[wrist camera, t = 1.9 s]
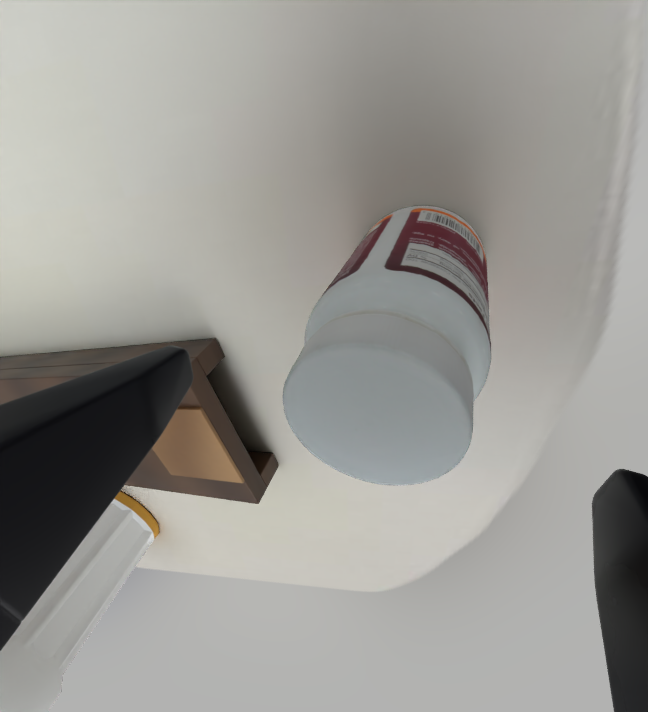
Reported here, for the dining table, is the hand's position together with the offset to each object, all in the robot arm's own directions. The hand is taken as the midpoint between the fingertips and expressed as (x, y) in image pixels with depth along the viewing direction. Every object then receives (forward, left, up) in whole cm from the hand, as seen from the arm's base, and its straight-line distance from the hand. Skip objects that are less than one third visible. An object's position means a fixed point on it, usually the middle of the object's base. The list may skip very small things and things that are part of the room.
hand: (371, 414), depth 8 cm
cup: (+25, +32, -8) cm, 41 cm away
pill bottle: (0, 0, -8) cm, 8 cm away
